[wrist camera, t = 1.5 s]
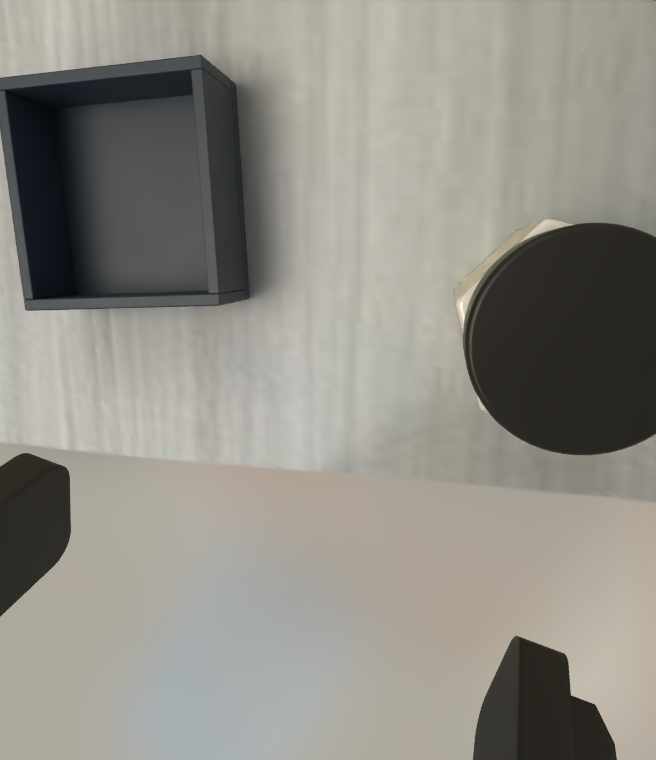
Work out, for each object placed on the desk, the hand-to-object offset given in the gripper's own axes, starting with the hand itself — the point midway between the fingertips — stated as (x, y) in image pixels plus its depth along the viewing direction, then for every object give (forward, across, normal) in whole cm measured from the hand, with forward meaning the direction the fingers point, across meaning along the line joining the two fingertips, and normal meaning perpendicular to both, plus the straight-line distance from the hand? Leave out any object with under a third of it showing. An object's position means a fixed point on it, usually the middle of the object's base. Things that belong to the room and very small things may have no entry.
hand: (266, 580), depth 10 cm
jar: (+26, -5, +2) cm, 26 cm away
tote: (+24, +17, 0) cm, 30 cm away
